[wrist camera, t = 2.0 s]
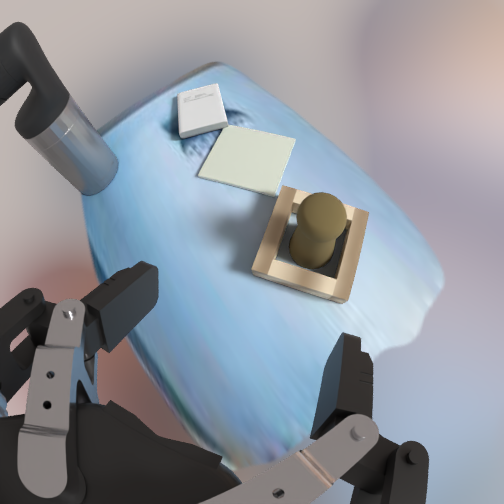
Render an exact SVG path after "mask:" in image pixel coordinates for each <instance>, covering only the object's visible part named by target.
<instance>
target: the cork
mask: <svg viewBox="0 0 504 504" xmlns="http://www.w3.org/2000/svg"><path fill="white" fill-rule="evenodd" d="M346 222H347V214H346V209H345V207H344V205H343V204H342V202H341V201H340V200H339V199H337V198H336V197H335V196H333V195H331V194H328V193H323V192H321V193H314V194H311V195H309V196H307V197H306V198H305V199H304V200H303V201H302V202H301V204H300V205H299V207H298V211H297V224H298V226H297V228H296V229H295V231H294V233H293V235H292V237H291V239H290V243H289V251H290V254H291V257H292V259H293V260H294V261H295V262H296V263H297V264H298V265H300V266H302V267H303V268H307V269H319V268H321V267H323V266H325V265H326V264H327V263H328V262H329V261H330V260H331V258H332V256H333V252H334V246H335V241H336V238H337V237H339V236H340V235H341V234H342V232H343V230H344V228H345V226H346Z"/></svg>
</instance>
